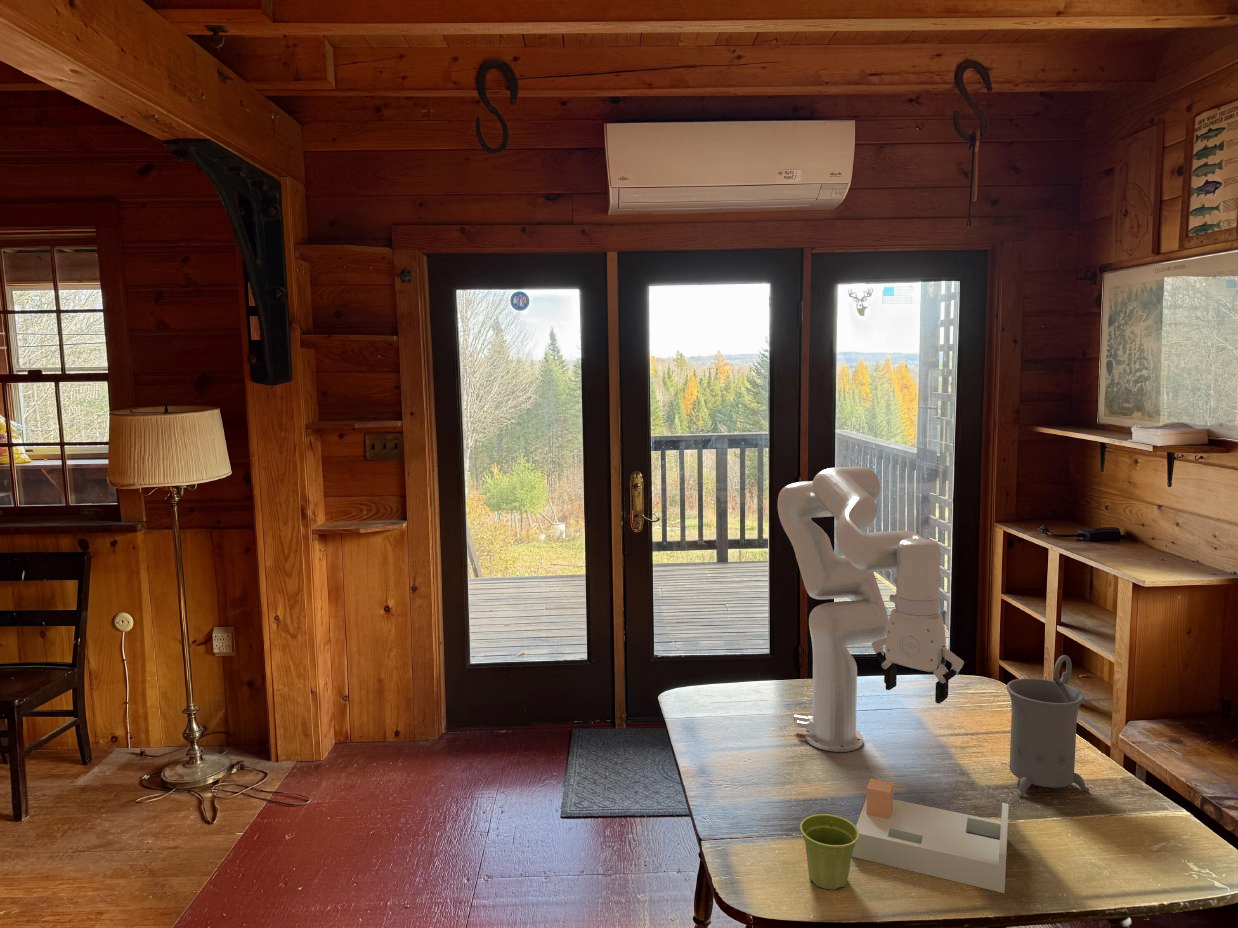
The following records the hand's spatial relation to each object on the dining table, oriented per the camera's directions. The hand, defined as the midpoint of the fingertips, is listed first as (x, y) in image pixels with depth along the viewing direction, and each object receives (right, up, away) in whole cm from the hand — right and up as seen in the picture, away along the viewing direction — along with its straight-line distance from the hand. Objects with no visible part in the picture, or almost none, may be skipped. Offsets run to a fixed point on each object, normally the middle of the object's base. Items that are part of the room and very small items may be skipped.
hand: (915, 694), depth 156 cm
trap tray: (-1, -24, -11) cm, 26 cm away
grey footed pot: (+30, -21, +11) cm, 38 cm away
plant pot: (-21, -25, -19) cm, 38 cm away
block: (-8, -20, -5) cm, 22 cm away
